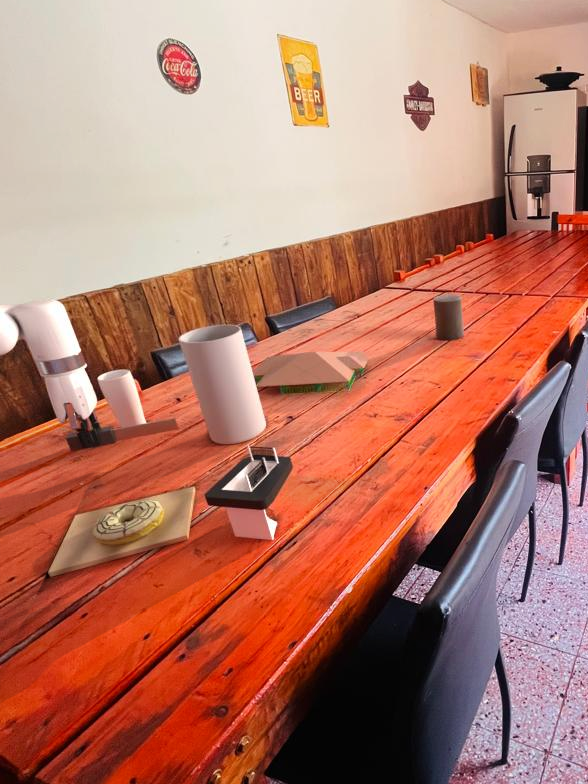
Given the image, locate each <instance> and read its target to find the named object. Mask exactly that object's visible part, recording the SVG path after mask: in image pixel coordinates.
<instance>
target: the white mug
mask: <svg viewBox="0 0 588 784" xmlns="http://www.w3.org/2000/svg"><path fill="white" fill-rule="evenodd" d="M96 379H97V382H98V385H99V388H100V390H101V393H102V395H103V397H104V399H105V401H106V403H107V405H108V407H109V408H110V410H111V412H112V414H113V416H114V417H115V419H116V421H117V423H118V425H119V428H122V427H127V426H133V425H138V424H144V423H147V420H146V417H145V414H144V410H143V405H142V403H141V398H140V394H139V391H138V388H137V385H136V382H135V378H134V377H133V375H132V373H131V370H129V369H115V370H111V371H108V372H105V373H102V374H100V375H99V376H98V377H97V378H96Z"/></svg>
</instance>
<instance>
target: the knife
mask: <svg viewBox="0 0 588 784" xmlns="http://www.w3.org/2000/svg"><path fill="white" fill-rule="evenodd" d="M95 430H96V432H97V435H98V437H99V440H100V442H101V445H100V446H99V447H102V446H108V445H113V444H116V442H119V441H124V440H129V439H134V438H140V437H146V436H151V435H157V434H161V433H167V432H172V431H177V430H179V425H178V423H177V420H176V417H172V418H167V419H161V420H156V421H149V422H146V423H144V424H138V425H133V426H127V427H122V428H121V427H117V428H114V425H109V426H103V427H101V428H97V429H95ZM65 441H66V443H67V446H68V447H69V450H70V452H75V451H76V452H77V451H81V450H84V449H83V448H82V445H81V443H80V440H79V438H78V436H77V433H76V432H75V431H74V432H69V433H68V434H67V435H66V437H65Z"/></svg>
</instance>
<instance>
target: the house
mask: <svg viewBox="0 0 588 784" xmlns="http://www.w3.org/2000/svg"><path fill="white" fill-rule="evenodd" d="M364 352H365V351H309V352H300V353H292V354H291V353H288V354H277V355H272V356H267V357H266V358H265V359H264V360H263V361H262V362H261V363H260V364H259V365H258V366H257V367H256V369H254V370H253V371H252V372H253V376H254V380H255V383H256V387H257V388H261V387H262V388H264V387H279V391H280V394H281V396H282V395H283V396H284V395H286V396H287V395H299V394H300V395H301V394H304V392H306V391H307V392H309V391H310V392H314V394H319V393H321V392H322V393H334V392H335V393H336V392H339V390H337V391H336V390H334V391H333V390H331V391H330V390H328V391H327V389H322V388H327V387H328V388H329V387H331V388H333V387H334V389H336V388H337V389H339V388H338V387H340V389H342V388H343V390H345V389H347V392H349V391H350V389H351V387H352V386H353V383H354V381H355V379H356V377H362V376H363V374H364V372H365V369H366V365H367V363H368V361H369V358H370V355H364V354H365V353H364ZM356 372H360V375H359V374H357V375H356ZM332 383H333V384H335V383H336V384H337V385H330V386H329V385H326V384H332ZM338 383H339V385H338ZM341 383H342V385H341ZM344 383H346V385H344ZM296 385H297V387H299V385H300V387H302V385H303V388H294V387H296ZM304 385H306V386H304ZM310 385H311V386H310ZM290 386H291V387H290ZM293 386H294V387H293ZM346 386H347V387H346ZM341 387H342V388H341ZM344 387H345V388H344ZM308 388H309V390H308ZM311 388H313V389H312V391H311ZM288 389H289V390H288ZM293 389H295V391H297V390H298V391H300V392H298V393H297V392H295V393H294V392H292V393H291V392H289V393H288V391H291V390H292V391H294V390H293ZM305 389H306V390H305ZM321 389H322V390H321ZM303 390H304V392H303ZM285 391H286V393H285Z"/></svg>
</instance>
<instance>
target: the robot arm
mask: <svg viewBox="0 0 588 784" xmlns="http://www.w3.org/2000/svg"><path fill="white" fill-rule="evenodd" d="M20 340H24V341H25V342H26V344H27V346H28V350H29V351H30V353H31V356H32V358H33V361H34V362H35V365H36V368H37V370H38V373H39V374H40V376H41V377H43V378H44V383H45V387H46V392H47V394H48V397H49V400H50V403H51V406H52V408H53V411H54V414H55V416H56V419H57V422H58V423H59V424H65V423H66V422H67V421H68V423H69V428H70V430H74V433H75V432H76V433H77V436H78V438H79V440H80V443H81V445H82V448H83V449H82V450H88V449H92V448H93V449H94V448H98V447H101V446H100V445H101V442H100V440H99V437H98V435H97V432H96V430H95V429H97V428H102V427H101V424H100V421H99V418H98V415H97V414H96V411H95V408H96V406H97V404H98V398H97V395H96V392H95V390H94V387H93V384H92V383H91V380H90V378H89V376H88V373H87V371H86V370H85V369H86V368H87V367H88V364H87V362H86V360H85V356H84V354H83V352H82V349H81V347H80V344H79V342H78V341H79V340H78V338H77V336H76V334H75V331H74V328H73V325H72V322H71V320H70V317H69V315H68V313H67V310H66V307H65V305H64V304H63V303H62V302H60V301H58V300H56V299H39V300H33V301H28V302H24V303H17V304H0V356H3V355H7V353H9V352H10V351H12V350H13V349H14V347H16V344H17V342H18V341H20Z"/></svg>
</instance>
